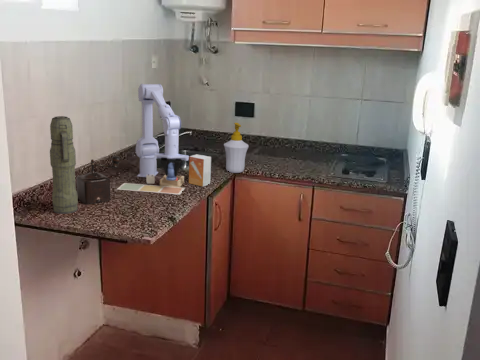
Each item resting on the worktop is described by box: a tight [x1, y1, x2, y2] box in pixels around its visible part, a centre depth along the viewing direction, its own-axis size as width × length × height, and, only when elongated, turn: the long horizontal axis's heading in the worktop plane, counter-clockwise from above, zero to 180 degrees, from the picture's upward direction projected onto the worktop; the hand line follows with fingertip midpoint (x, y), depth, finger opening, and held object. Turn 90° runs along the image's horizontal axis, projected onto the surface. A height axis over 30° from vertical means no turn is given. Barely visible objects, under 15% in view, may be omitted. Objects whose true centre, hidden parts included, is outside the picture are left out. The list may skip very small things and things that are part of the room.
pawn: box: [166, 161, 177, 181], centre depth 211 cm, size 4×4×8 cm
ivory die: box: [145, 174, 156, 185], centre depth 223 cm, size 4×4×4 cm
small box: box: [188, 153, 212, 188], centre depth 224 cm, size 8×6×13 cm
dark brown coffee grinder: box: [75, 155, 122, 206], centre depth 196 cm, size 16×11×18 cm
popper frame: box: [159, 174, 185, 188], centre depth 222 cm, size 9×9×3 cm
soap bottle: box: [223, 122, 249, 174], centre depth 247 cm, size 13×13×25 cm
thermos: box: [49, 115, 79, 215], centre depth 179 cm, size 9×12×35 cm
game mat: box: [116, 182, 186, 196], centre depth 214 cm, size 10×28×1 cm, turn 84°
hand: (171, 175), depth 212 cm, fingers closed on pawn, 3 cm apart
